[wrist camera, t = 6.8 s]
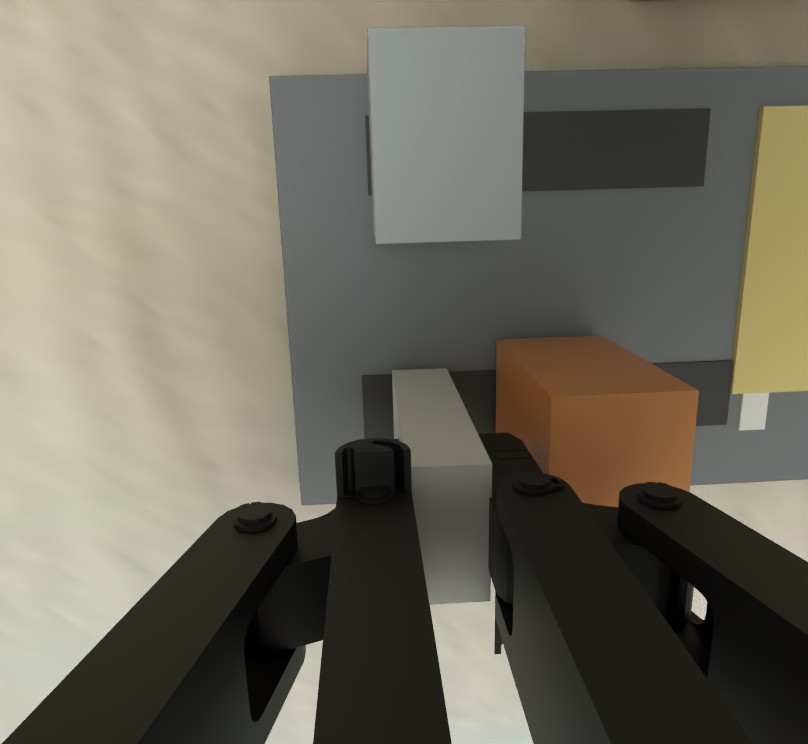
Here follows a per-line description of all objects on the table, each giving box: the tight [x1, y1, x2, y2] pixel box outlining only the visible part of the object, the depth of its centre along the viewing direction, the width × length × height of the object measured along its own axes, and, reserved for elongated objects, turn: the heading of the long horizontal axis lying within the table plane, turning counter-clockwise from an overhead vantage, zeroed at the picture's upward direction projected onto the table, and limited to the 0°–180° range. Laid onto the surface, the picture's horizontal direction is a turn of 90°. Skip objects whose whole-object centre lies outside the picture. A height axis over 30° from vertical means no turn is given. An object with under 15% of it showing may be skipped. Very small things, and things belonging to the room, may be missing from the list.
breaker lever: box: [496, 335, 699, 507], centre depth 16 cm, size 4×3×6 cm
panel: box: [269, 26, 808, 505], centre depth 17 cm, size 12×22×6 cm, turn 91°
